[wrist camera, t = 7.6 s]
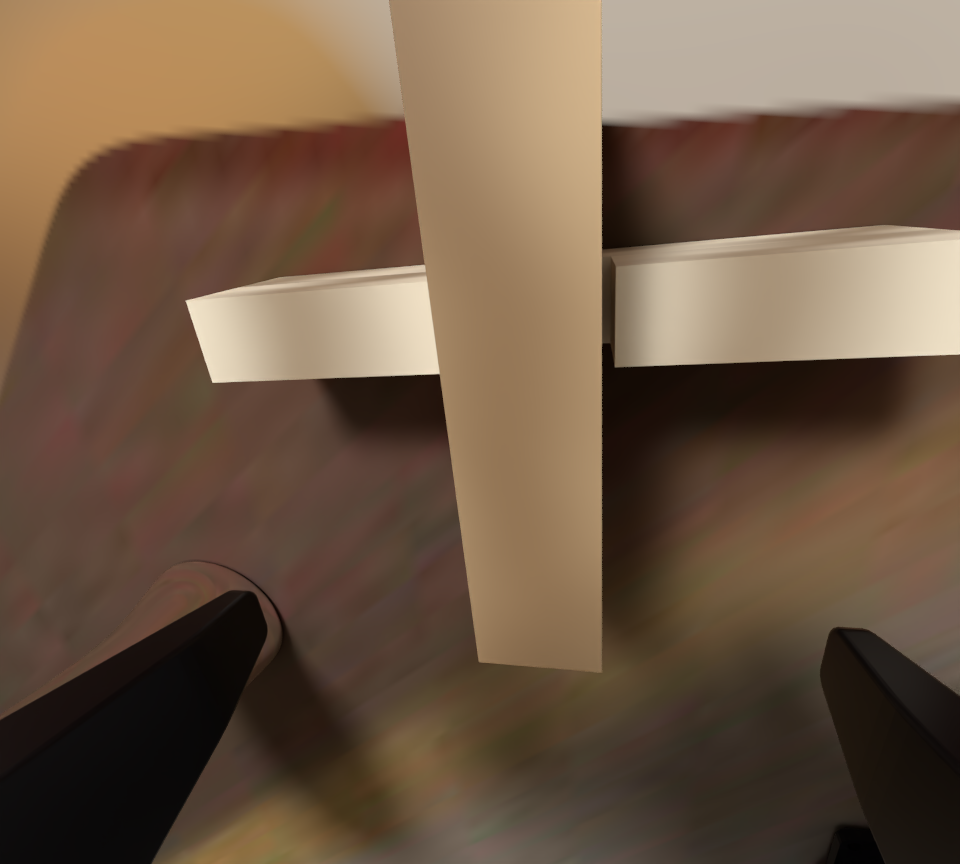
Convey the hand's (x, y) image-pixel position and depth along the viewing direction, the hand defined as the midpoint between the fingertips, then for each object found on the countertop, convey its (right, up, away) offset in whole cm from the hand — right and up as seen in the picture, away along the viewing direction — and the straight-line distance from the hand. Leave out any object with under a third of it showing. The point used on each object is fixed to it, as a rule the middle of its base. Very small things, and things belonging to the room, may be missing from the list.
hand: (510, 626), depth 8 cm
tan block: (+1, +7, +6) cm, 9 cm away
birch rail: (+1, +7, +6) cm, 9 cm away
